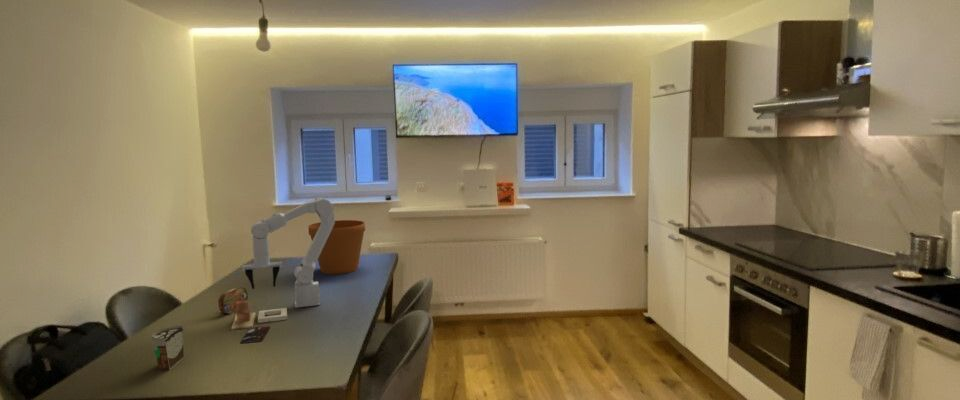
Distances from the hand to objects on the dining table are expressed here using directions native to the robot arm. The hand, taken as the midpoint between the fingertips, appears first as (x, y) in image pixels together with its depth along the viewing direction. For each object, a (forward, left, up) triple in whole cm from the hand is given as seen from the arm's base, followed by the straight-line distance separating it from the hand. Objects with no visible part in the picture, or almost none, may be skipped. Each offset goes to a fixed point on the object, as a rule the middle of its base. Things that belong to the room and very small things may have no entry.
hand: (263, 287), depth 211 cm
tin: (+12, -6, -10) cm, 17 cm away
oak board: (+7, +11, -9) cm, 16 cm away
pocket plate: (-3, +10, -9) cm, 14 cm away
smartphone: (+2, +28, -10) cm, 30 cm away
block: (+7, +11, -9) cm, 16 cm away
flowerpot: (-33, -58, -10) cm, 67 cm away
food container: (+26, +44, -10) cm, 52 cm away
